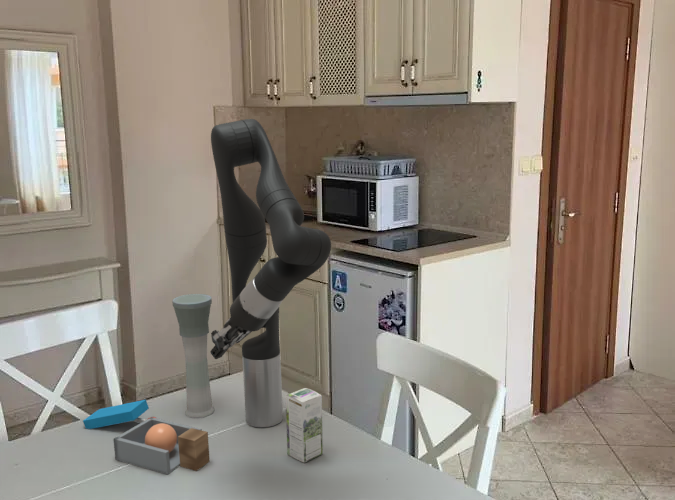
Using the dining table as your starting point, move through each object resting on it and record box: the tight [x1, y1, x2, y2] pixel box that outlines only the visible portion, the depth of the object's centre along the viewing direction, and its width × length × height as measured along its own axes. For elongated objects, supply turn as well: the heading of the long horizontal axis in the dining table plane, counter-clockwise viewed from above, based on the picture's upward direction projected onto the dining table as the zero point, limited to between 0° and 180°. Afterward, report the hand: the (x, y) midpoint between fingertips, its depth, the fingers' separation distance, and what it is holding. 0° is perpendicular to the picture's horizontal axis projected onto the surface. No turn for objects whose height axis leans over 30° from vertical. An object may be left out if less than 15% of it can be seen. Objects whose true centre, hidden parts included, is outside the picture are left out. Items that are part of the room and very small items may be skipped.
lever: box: [82, 399, 157, 430], centre depth 167 cm, size 7×7×18 cm
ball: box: [145, 423, 177, 453], centre depth 151 cm, size 7×7×7 cm
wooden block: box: [178, 428, 211, 472], centre depth 147 cm, size 4×4×7 cm
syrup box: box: [285, 387, 324, 464], centre depth 149 cm, size 6×6×14 cm
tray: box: [112, 416, 203, 475], centre depth 152 cm, size 15×12×5 cm
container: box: [171, 293, 215, 419], centre depth 171 cm, size 10×10×30 cm
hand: (215, 355), depth 140 cm, fingers closed
